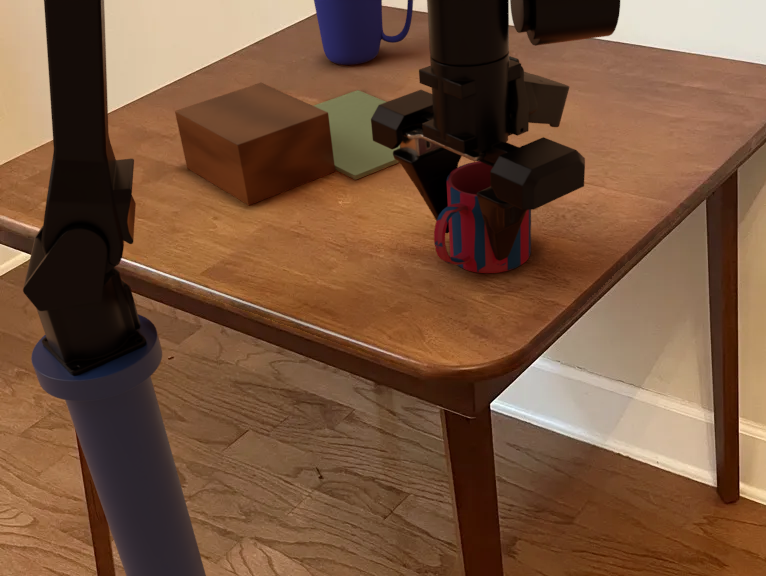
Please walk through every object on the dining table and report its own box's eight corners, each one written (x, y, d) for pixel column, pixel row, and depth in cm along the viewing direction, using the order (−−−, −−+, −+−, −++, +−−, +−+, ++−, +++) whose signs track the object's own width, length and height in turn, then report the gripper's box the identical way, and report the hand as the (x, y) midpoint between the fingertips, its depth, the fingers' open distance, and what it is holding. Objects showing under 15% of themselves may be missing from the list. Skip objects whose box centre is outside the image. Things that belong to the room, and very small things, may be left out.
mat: (355, 180, 98) (354, 175, 98) (256, 130, 110) (256, 125, 110) (462, 137, 105) (462, 132, 104) (358, 94, 116) (357, 89, 116)
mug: (418, 65, 122) (412, -23, 116) (317, 72, 123) (306, -16, 116) (417, 42, 129) (412, -43, 122) (321, 49, 129) (311, -35, 123)
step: (248, 205, 96) (237, 144, 92) (186, 168, 103) (174, 110, 100) (335, 171, 100) (328, 112, 97) (270, 138, 108) (261, 82, 104)
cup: (547, 250, 85) (548, 174, 81) (463, 299, 80) (460, 221, 76) (488, 226, 89) (486, 152, 85) (405, 271, 84) (398, 195, 80)
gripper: (644, 51, 72) (629, 249, 81) (468, 1, 84) (473, 178, 93) (528, 97, 67) (527, 302, 76) (358, 36, 79) (376, 220, 88)
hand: (475, 244), depth 84 cm, fingers closed on cup, 6 cm apart
